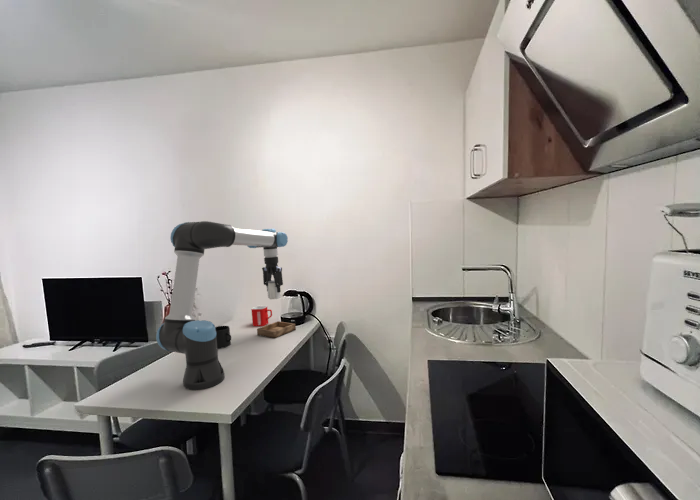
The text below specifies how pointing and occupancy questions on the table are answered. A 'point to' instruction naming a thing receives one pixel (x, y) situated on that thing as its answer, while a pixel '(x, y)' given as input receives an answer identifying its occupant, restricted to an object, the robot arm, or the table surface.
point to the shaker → (272, 289)
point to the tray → (276, 329)
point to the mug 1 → (223, 336)
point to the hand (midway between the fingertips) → (274, 297)
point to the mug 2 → (260, 315)
